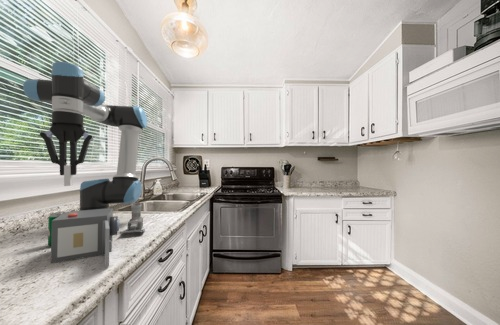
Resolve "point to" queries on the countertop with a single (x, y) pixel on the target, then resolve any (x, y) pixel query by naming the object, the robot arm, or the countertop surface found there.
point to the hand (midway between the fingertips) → (68, 185)
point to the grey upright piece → (135, 220)
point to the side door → (106, 242)
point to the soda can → (50, 218)
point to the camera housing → (80, 233)
